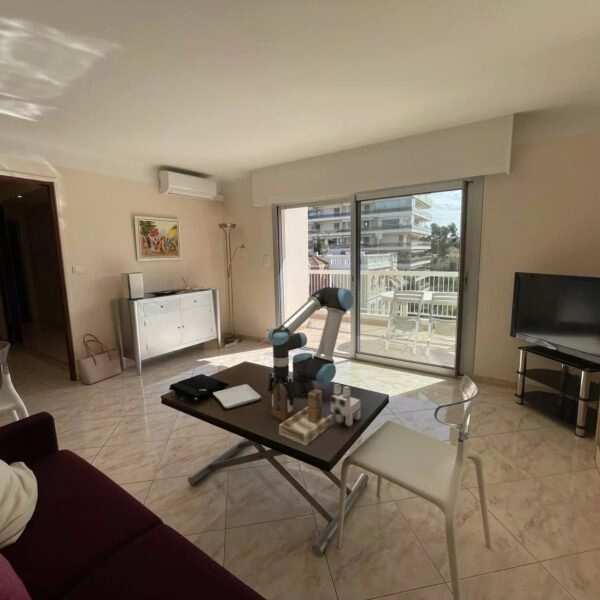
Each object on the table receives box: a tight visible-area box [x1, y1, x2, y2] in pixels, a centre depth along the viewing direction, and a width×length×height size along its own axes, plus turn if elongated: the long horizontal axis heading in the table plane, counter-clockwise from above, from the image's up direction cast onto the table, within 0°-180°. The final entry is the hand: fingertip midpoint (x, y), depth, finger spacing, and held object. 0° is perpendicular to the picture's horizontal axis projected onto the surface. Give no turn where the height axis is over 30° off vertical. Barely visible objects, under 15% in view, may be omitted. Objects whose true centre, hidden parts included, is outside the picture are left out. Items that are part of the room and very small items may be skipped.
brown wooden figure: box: [271, 379, 292, 422], centre depth 158 cm, size 4×11×18 cm, turn 44°
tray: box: [278, 405, 334, 447], centre depth 148 cm, size 22×15×4 cm
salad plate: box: [212, 383, 262, 409], centre depth 180 cm, size 21×21×3 cm
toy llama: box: [330, 382, 362, 428], centre depth 153 cm, size 8×18×20 cm, turn 141°
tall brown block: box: [307, 388, 323, 423], centre depth 153 cm, size 6×4×14 cm, turn 143°
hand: (282, 408), depth 157 cm, fingers open, 9 cm apart
